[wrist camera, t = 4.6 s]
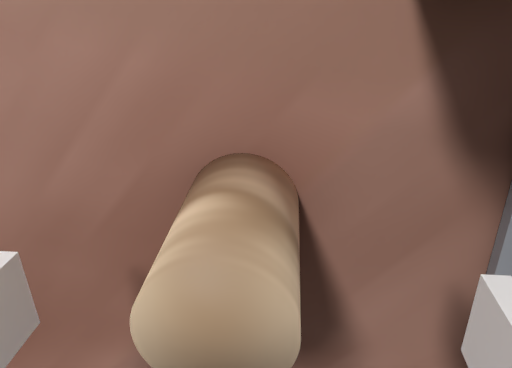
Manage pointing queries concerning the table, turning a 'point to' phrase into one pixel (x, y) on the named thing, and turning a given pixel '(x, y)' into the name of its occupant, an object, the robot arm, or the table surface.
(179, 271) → the cork
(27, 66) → the table surface
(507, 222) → the coaster
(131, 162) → the table surface
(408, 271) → the table surface
